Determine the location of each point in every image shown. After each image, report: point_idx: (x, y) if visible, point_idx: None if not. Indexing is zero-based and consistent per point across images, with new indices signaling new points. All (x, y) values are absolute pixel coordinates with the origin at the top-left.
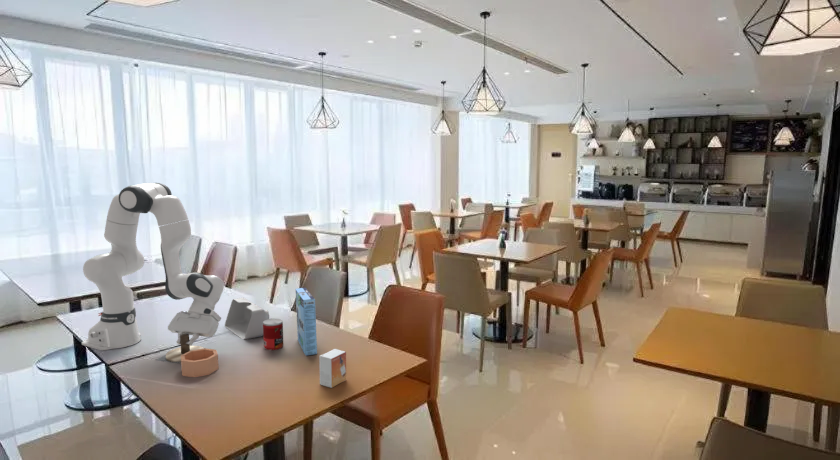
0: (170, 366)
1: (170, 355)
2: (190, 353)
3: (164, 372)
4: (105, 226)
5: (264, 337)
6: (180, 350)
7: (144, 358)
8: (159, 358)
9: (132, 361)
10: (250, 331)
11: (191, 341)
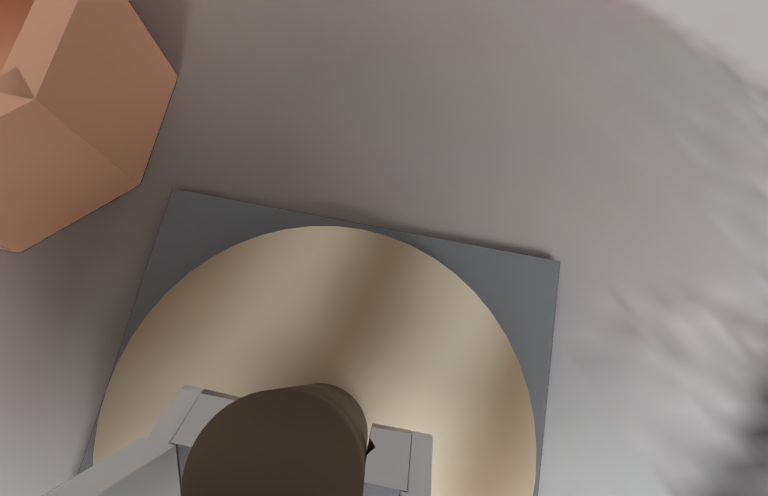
0: (332, 161)
1: (440, 322)
2: (22, 57)
3: (314, 50)
4: None
5: None
6: None
7: (710, 315)
8: (542, 299)
9: (763, 235)
10: None
11: (158, 437)
